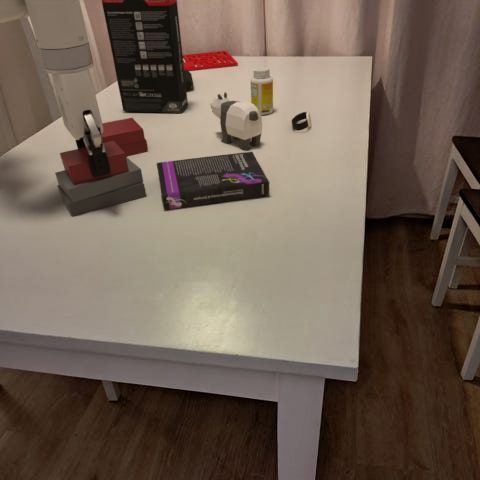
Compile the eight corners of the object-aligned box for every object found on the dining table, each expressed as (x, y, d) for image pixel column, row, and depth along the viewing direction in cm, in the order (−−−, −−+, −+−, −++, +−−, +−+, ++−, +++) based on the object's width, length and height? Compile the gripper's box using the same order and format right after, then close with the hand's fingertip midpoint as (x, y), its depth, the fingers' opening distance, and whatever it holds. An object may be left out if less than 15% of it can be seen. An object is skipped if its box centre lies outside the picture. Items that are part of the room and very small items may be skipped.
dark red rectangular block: (74, 185, 81) (68, 166, 78) (65, 171, 85) (59, 152, 83) (129, 171, 84) (125, 152, 82) (117, 158, 89) (113, 140, 86)
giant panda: (265, 145, 103) (265, 99, 97) (247, 152, 101) (245, 106, 94) (223, 130, 112) (220, 87, 106) (205, 136, 109) (201, 92, 103)
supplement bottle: (275, 109, 122) (275, 66, 115) (269, 116, 118) (269, 72, 111) (255, 108, 123) (254, 65, 116) (248, 115, 119) (247, 71, 112)
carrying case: (158, 81, 147) (158, 94, 136) (156, 70, 145) (156, 83, 134) (191, 78, 148) (194, 91, 137) (190, 67, 146) (193, 80, 135)
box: (163, 213, 83) (270, 197, 85) (160, 195, 81) (269, 178, 82) (159, 179, 93) (254, 165, 95) (156, 162, 91) (253, 148, 93)
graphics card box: (190, 106, 127) (176, -17, 109) (183, 114, 122) (168, -13, 104) (131, 105, 130) (108, -14, 112) (122, 113, 125) (96, -10, 107)
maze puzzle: (237, 65, 158) (237, 62, 157) (179, 71, 155) (179, 69, 155) (226, 52, 173) (226, 50, 172) (173, 58, 170) (172, 56, 169)
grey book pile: (72, 216, 82) (63, 190, 79) (60, 196, 89) (52, 171, 86) (147, 196, 87) (142, 170, 84) (131, 178, 94) (126, 153, 90)
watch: (309, 133, 108) (310, 116, 105) (289, 132, 108) (289, 116, 106) (312, 121, 113) (313, 106, 111) (293, 121, 114) (293, 105, 112)
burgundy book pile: (96, 163, 100) (90, 140, 97) (85, 149, 106) (79, 127, 103) (149, 151, 104) (145, 128, 101) (135, 138, 110) (131, 116, 107)
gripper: (32, 51, 77) (64, 156, 89) (54, 73, 65) (87, 190, 77) (77, 45, 80) (102, 147, 91) (106, 64, 68) (130, 179, 80)
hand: (95, 166), depth 84 cm, fingers open, 7 cm apart
